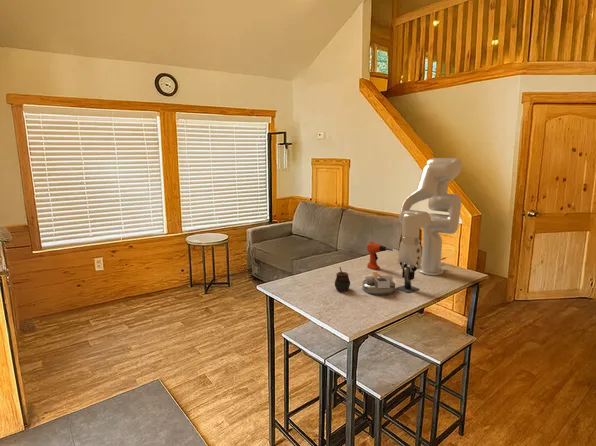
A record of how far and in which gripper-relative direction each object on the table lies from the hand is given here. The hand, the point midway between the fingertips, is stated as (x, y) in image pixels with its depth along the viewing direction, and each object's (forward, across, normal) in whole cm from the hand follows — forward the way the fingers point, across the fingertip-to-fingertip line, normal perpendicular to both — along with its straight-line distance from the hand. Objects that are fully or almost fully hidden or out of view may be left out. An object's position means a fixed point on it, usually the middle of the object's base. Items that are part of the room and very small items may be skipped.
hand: (408, 277), depth 175 cm
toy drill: (+6, +28, -10) cm, 30 cm away
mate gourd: (+6, +18, +25) cm, 31 cm away
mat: (+6, 0, 0) cm, 6 cm away
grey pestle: (+5, 0, 0) cm, 5 cm away
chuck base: (+6, +8, +11) cm, 15 cm away
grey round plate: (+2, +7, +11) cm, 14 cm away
